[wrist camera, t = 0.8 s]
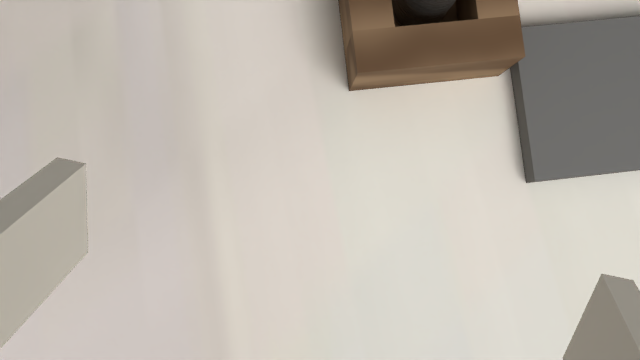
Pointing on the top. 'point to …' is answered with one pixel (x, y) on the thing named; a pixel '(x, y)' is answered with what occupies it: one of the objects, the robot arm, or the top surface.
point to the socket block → (429, 43)
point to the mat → (579, 98)
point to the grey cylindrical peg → (420, 11)
